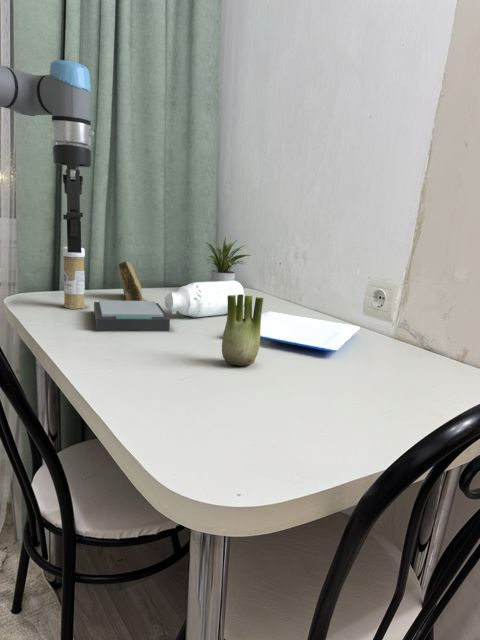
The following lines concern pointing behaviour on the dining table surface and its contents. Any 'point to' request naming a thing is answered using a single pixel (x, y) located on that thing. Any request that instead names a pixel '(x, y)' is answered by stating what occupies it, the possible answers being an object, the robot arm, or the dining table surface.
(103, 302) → the scale
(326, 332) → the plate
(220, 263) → the house plant
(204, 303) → the white bottle
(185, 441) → the dining table surface
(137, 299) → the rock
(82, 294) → the sprinkles bottle
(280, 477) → the dining table surface
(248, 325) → the fennel bulb
